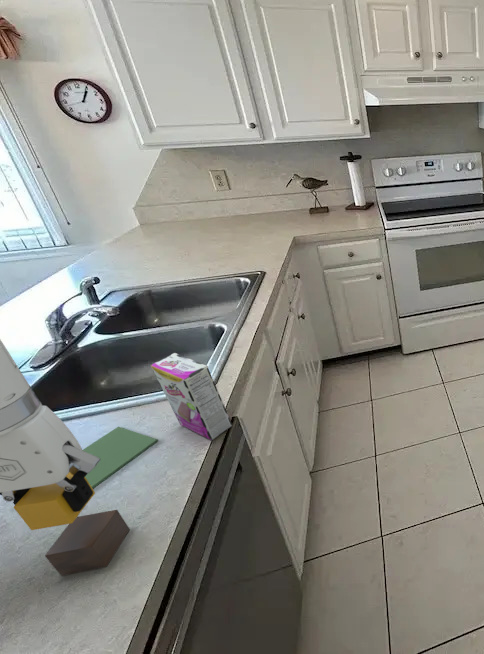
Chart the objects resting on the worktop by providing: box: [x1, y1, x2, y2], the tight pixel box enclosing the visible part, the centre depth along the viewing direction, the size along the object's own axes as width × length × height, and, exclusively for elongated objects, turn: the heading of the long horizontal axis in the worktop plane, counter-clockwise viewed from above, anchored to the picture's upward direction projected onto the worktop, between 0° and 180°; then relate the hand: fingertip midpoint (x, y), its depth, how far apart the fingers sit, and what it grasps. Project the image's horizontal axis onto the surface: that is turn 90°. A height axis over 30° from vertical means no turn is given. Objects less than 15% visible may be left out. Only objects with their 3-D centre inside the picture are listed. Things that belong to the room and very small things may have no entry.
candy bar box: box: [150, 352, 233, 441], centre depth 85 cm, size 11×5×16 cm, turn 65°
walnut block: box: [44, 509, 131, 577], centre depth 64 cm, size 6×6×5 cm
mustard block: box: [13, 472, 96, 531], centre depth 60 cm, size 5×5×5 cm
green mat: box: [82, 426, 159, 490], centre depth 82 cm, size 12×12×1 cm
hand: (61, 505), depth 60 cm, fingers closed on mustard block, 5 cm apart
